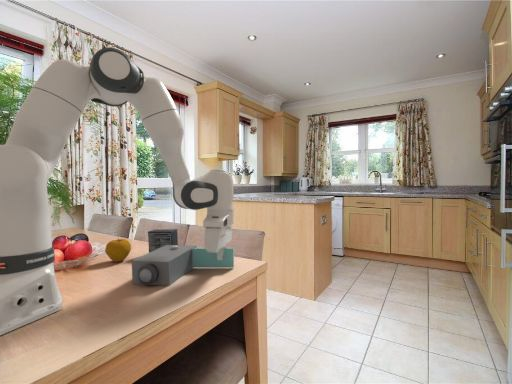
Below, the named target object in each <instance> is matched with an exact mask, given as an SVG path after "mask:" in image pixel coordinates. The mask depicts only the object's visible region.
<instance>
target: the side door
mask: <svg viewBox="0 0 512 384" xmlns="http://www.w3.org/2000/svg"><path fill="white" fill-rule="evenodd" d="M234 250H235V249H234V247H225V250H224V257H223V259H222V260H217V253H210V252H207V251H206V248H205V247H197V248H192V261H193V268H192V269H195V268H196V269H197V268H198V269H199V268H201V269H202V268H204V269H205V268H206V269H207V268H209V269H210V268H211V269H212V268H213V269H215V268H217V269H219V268H222V269H224V268H228V269H229V268H230V269H234V268H235V255H234V254H235V253H234V252H235V251H234Z"/></svg>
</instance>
